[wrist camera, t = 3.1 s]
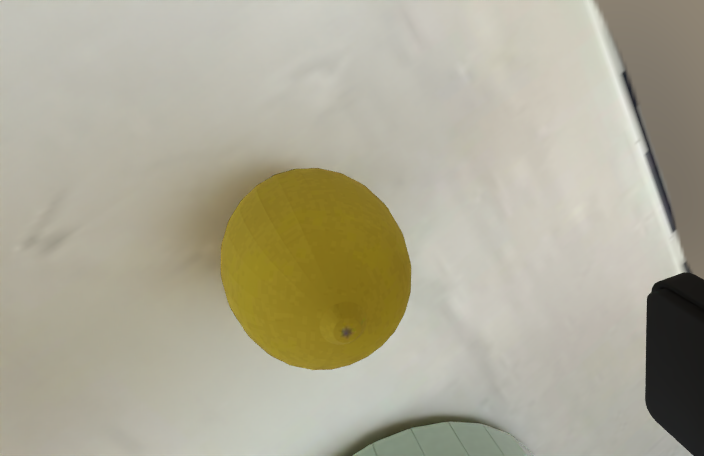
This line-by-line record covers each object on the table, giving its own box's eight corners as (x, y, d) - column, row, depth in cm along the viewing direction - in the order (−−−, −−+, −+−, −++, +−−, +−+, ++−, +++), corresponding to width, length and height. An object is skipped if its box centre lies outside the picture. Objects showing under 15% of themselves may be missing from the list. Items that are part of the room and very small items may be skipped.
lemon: (194, 169, 18) (194, 269, 11) (347, 126, 19) (438, 193, 12) (241, 303, 21) (267, 457, 14) (376, 259, 22) (467, 382, 14)
